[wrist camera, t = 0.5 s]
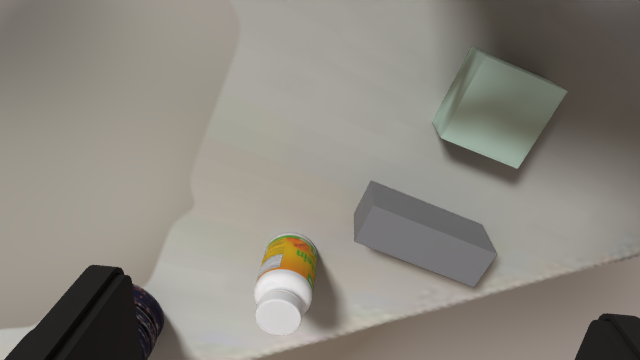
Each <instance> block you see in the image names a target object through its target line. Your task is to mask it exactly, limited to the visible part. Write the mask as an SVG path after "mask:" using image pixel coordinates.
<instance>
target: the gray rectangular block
mask: <svg viewBox="0 0 640 360" xmlns="http://www.w3.org/2000/svg"><path fill="white" fill-rule="evenodd" d="M354 242H357V243H359V244H362V245H365V246H367V247H370V248H372V249H375V250H378V251H380V252H383V253H386V254H388V255H391V256H393V257H396V258H399V259H401V260H404V261H407V262H409V263H412V264H414V265H417V266H420V267H422V268H425V269H428V270H430V271H433V272H435V273H438V274H441V275H443V276H446V277H449V278H451V279H454V280H456V281H459V282H462V283H464V284H467V285H470V286H472V287H474V286H475V285H476V283H477V282H478V281H479V279H480V278H481V276H482V275H483V274H484V272H485V271H486V269H487V268H488V267H489V265H490V264H491V262H492V261H493V259H494V258H495V257H496V255H497V253H496V251H495V249H494V247H493V245H492V243H491V241H490V239H489V237H488V235H487V233H486V231H485V229H484V227H483V225H481V224H479V223H476V222H474V221H471V220H469V219H466V218H464V217H461V216H459V215H456V214H454V213H451V212H449V211H446V210H444V209H441V208H439V207H436V206H434V205H431V204H429V203H426V202H424V201H421V200H419V199H416V198H414V197H411V196H409V195H406V194H404V193H401V192H399V191H396V190H394V189H391V188H389V187H386V186H384V185H381V184H379V183H376V182H374V181H371V182H370V184H369V186H368V188H367V190H366V191H365V193H364V195H363V197H362V199H361V201H360V203H359V205H358V207H357V209H356V211H355V213H354Z"/></svg>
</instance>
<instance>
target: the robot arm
mask: <svg viewBox="0 0 640 360" xmlns="http://www.w3.org/2000/svg"><path fill="white" fill-rule="evenodd" d="M4 360H143V358H142V351H141V344H140V336H139V329H138V322H137V315H136V308H135V301H134V294H133V286H132V280H131V278H130V276H128V275H124V272H123V270H122V269H121V268H119V267H111V266H100V265H91V266H89V267H88V268H87V269H86V270H85V271H84V272H83V273H82V275H80V277H79V278H78V279H77V280H76V281H75V283H74V284H73V285H72V286H71V287H70V288H69V289H68V291H67V292H66V293H65V294H64V295H63V296H62V297H61V299H60V300H59V301H58V302H57V303H56V304H55V305H54V307H53V308H52V309H51V310H50V311H49V312H48V313H47V315H46V316H45V317H44V318H43V319H42V320H41V322H40V323H39V324H38V325H37V326H36V327H35V328H34V329H33V330H31V331H30V332H29V333H28V334H27V335H26V336H25V337H24V338H23V339H22V340H21V341H20V342H19V343H18V344H17V346H16V347H15V348H14V349H13V350H12V351H11V352H10V354H9V355H8V356H7V357H6V358H5V359H4ZM575 360H640V318H638V317H636V316H629V315H618V314H603V315H601V316H600V317H599V319H598V320H593V321H592V322H591V324H590V325H589V327H588V330H587V332H586V334H585V337H584V339H583V341H582V344H581V346H580V348H579V351H578V353H577V355H576V358H575Z"/></svg>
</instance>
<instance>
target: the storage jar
mask: <svg viewBox="0 0 640 360" xmlns="http://www.w3.org/2000/svg"><path fill="white" fill-rule="evenodd" d="M132 286H133V294H134V301H135V308H136V315H137V322H138V329H139V336H140V344H141V351H142V358H143V360H147V358H148V357H149V356H150V354H151V352H152V350H153V348H154V346H155V342H156V340H157V337H158V336H159V334H160V332H161V330H162V328H163V324H164V316H163V312H162V309H161V307H160V305H159V304H158V302H157V301H156V300H155V299H154V297H153V296H152V295H150V294H149V293H148V292H147V291H145V290H144V289H142V288H140V287H139V286H137V285H134V284H132Z"/></svg>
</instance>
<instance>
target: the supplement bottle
mask: <svg viewBox="0 0 640 360" xmlns="http://www.w3.org/2000/svg"><path fill="white" fill-rule="evenodd" d="M316 264H317V252H316V249H315V247H314V245H313V244H312V243H311V241H309V240H308V239H307V238H305V237H304V236H302V235H299V234H294V233H285V234H281V235H279V236H277V237H275V238H274V239H273V240H272V241H271V242H270V243H269V245H268V246H267V249H266V252H265V255H264V258H263V262H262V265H261V268H260V272H259V275H258V278H257V281H256V284H255V289H254V299H255V302H256V305H257V309H256V321H257V323H258V325H259V326H260V327H261V328H262V329H263V330H264V331H265V332H267V333H269V334H272V335H278V336H284V335H288V334H291V333H293V332H294V331H296V330H297V329H298V327H299V326H300V324H301V320H302V315H303V314H304V313H305V312H306V311H307V310H308V309H309V307H310V305H311V302H312V295H313V287H314V279H315V271H316Z"/></svg>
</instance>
